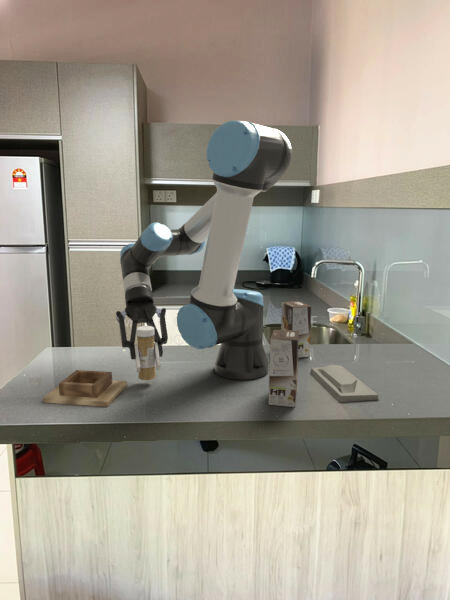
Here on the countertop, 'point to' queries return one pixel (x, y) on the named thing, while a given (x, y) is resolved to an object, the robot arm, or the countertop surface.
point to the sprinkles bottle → (146, 352)
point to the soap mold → (342, 384)
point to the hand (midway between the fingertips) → (148, 368)
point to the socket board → (86, 389)
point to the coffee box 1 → (298, 323)
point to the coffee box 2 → (283, 367)
